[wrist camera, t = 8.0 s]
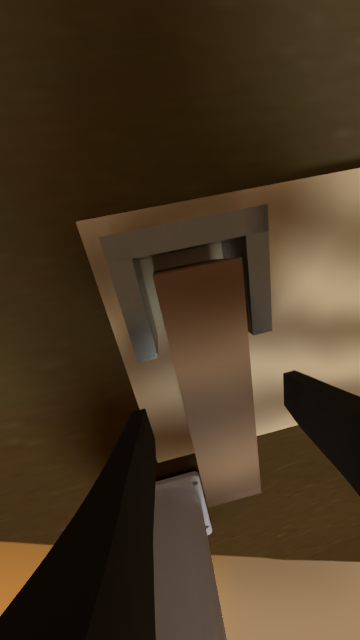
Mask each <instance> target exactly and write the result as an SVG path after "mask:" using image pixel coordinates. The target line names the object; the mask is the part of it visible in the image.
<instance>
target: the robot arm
mask: <svg viewBox="0 0 360 640" xmlns="http://www.w3.org/2000/svg"><path fill="white" fill-rule="evenodd" d="M283 385H284V406H285V407H286V408H287V410H288V411H289V413H290V414H291V416H292V417H293V418H294V420H295V421H296V422H297V424H298V425H299V426H300V427H301V429H302V430H303V431H304V432H305V433H306V434H307V435H308V437H309V438H310V439H311V440H312V441H313V442H314V443H315V444H316V446H317V447H318V448H319V449H320V450H321V451H322V452H323V453H324V455H325V456H326V457H327V458H328V459H329V460H330V461H331V462H332V464H333V465H334V466H335V467H336V468H337V469H338V470H339V471H340V472H341V474H342V475H343V476H344V477H345V478H346V480H347V481H348V482H349V483H350V484H351V486H352V487H353V488H354V489H355V491H356V492H357V493H358V495H359V496H360V396H357V395H354V394H352V393H349V392H347V391H344V390H342V389H339V388H337V387H335V386H332V385H330V384H327V383H325V382H322V381H320V380H318V379H315V378H313V377H310V376H308V375H305V374H303V373H300V372H298V371H295V370H294V371H290V372H286V373H283ZM211 533H212V527H211V523H210V519H209V515H208V511H207V506H206V502H205V498H204V494H203V490H202V486H201V482H200V478H199V474H198V472H196V471H193V472H189V473H185V474H182V475H178V476H175V477H171V478H167V479H164V480H160V481H157V482H156V445H155V437H154V434H153V431H152V428H151V425H150V422H149V418H148V415H147V412H146V409H141V410H137V411H133V412H132V414H131V416H130V418H129V420H128V422H127V424H126V426H125V428H124V430H123V432H122V434H121V436H120V438H119V440H118V442H117V444H116V446H115V448H114V450H113V452H112V454H111V455H110V457H109V459H108V461H107V463H106V464H105V466H104V468H103V470H102V471H101V473H100V475H99V477H98V478H97V480H96V482H95V483H94V485H93V487H92V488H91V490H90V492H89V493H88V495H87V497H86V498H85V500H84V501H83V503H82V504H81V506H80V507H79V509H78V511H77V512H76V514H75V515H74V517H73V518H72V520H71V521H70V523H69V524H68V526H67V527H66V528H65V530H64V531H63V533H62V534H61V536H60V537H59V538H58V540H57V541H56V543H55V544H54V546H53V547H52V549H51V550H50V551H49V553H48V554H47V556H46V557H45V558H44V560H43V561H42V562H41V564H40V565H39V567H38V568H37V569H36V571H35V572H34V573H33V575H32V576H31V577H30V578H29V580H28V581H27V582H26V584H25V585H24V586H23V588H22V589H21V590H20V592H19V593H18V594H17V595H16V597H15V598H14V599H13V601H12V602H11V603H10V605H9V606H8V607H7V609H6V610H5V611H4V612H3V614H2V615H1V616H0V640H227V639H226V634H225V628H224V623H223V618H222V613H221V607H220V602H219V596H218V591H217V586H216V580H215V575H214V569H213V564H212V559H211V553H210V548H209V543H208V537H207V535H209V534H211Z"/></svg>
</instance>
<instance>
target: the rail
mask: <svg viewBox="0 0 360 640" xmlns="http://www.w3.org/2000/svg"><path fill="white" fill-rule="evenodd" d="M153 280H154V284H155V288H156V292H157V297H158V301H159V305H160V309H161V313H162V317H163V322H164V326H165V330H166V334H167V338H168V343H169V347H170V351H171V355H172V359H173V363H174V368H175V372H176V376H177V380H178V384H179V389H180V393H181V397H182V401H183V405H184V409H185V414H186V418H187V422H188V426H189V430H190V435H191V439H192V443H193V447H194V451H195V455H196V460H197V464H198V468H199V472H200V476H201V481H202V485H203V489H204V493H205V497H206V501H207V506H208V508H210V507H213V506H217V505H220V504H224V503H227V502H230V501H234V500H237V499H241V498H244V497H248V496H251V495H255V494H258V493H261V485H260V472H259V460H258V448H257V436H256V424H255V411H254V399H253V387H252V375H251V363H250V350H249V338H248V326H247V314H246V302H245V289H244V277H243V265H242V257H241V258H226V259H212V260H207V261H202V262H197V263H192V264H188V265H183V266H178V267H173V268H169V269H164V270H159V271H154V273H153Z"/></svg>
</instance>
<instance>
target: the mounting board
mask: <svg viewBox="0 0 360 640" xmlns="http://www.w3.org/2000/svg"><path fill="white" fill-rule="evenodd" d="M264 204H268V223H269V252H270V280H271V308H272V331H270V332H266V333H261V334H257V335H252V334H251V333H249V332H248V338H249V350H250V363H251V375H252V387H253V399H254V411H255V424H256V436H259V435H263V434H266V433H270V432H274V431H277V430H281V429H285V428H288V427H292V426H296V425H298V424H297V422H296V421H295V420H294V418H293V417H292V416H291V414H290V413H289V411H288V410H287V408H286V407H285V406H284V385H283V373H286V372H290V371H294V370H295V371H298V372H300V373H303V374H305V375H308V376H310V377H313V378H315V379H318V380H320V381H322V382H325V383H327V384H330V385H332V386H335V387H337V388H339V389H342V390H344V391H347V392H349V393H352V394H354V395H357V396H360V168H356V169H351V170H345V171H340V172H335V173H330V174H324V175H319V176H314V177H309V178H303V179H298V180H293V181H287V182H282V183H277V184H272V185H266V186H261V187H256V188H250V189H245V190H240V191H235V192H229V193H224V194H219V195H214V196H208V197H203V198H198V199H192V200H187V201H182V202H177V203H171V204H166V205H161V206H156V207H150V208H145V209H140V210H134V211H129V212H124V213H119V214H113V215H108V216H103V217H98V218H92V219H87V220H82V221H76V224H77V227H78V230H79V233H80V236H81V239H82V242H83V245H84V248H85V251H86V254H87V257H88V260H89V262H90V265H91V268H92V271H93V274H94V277H95V280H96V283H97V286H98V289H99V292H100V295H101V298H102V301H103V304H104V306H105V309H106V312H107V315H108V318H109V321H110V324H111V327H112V330H113V333H114V336H115V339H116V342H117V345H118V348H119V350H120V353H121V356H122V359H123V362H124V365H125V368H126V371H127V374H128V377H129V380H130V383H131V386H132V389H133V392H134V395H135V397H136V400H137V403H138V406H139V409H140V410H141V409H146V412H147V415H148V418H149V422H150V425H151V428H152V431H153V434H154V437H155V445H156V459H157V462H158V463H160V462H163V461H167V460H171V459H174V458H178V457H182V456H185V455H189V454H193V453H195V451H194V447H193V443H192V439H191V435H190V430H189V426H188V422H187V418H186V414H185V409H184V405H183V401H182V397H181V393H180V389H179V384H178V380H177V376H176V372H175V368H174V363H173V359H172V355H171V351H170V347H169V343H168V338H167V334H166V330H165V326H164V322H163V317H162V313H161V309H160V305H159V301H158V297H157V292H156V288H155V284H154V280H153V273H154V271H159V270H164V269H169V268H173V267H178V266H183V265H188V264H192V263H197V262H202V261H207V260H212V259H223V252H222V243H220V244H215V245H210V246H205V247H200V248H195V249H191V250H186V251H181V252H176V253H171V254H166V255H161V256H156V257H152V258H147V259H142V260H139V263H140V267H141V271H142V275H143V279H144V283H145V287H146V291H147V294H148V298H149V302H150V306H151V310H152V314H153V318H154V322H155V326H156V330H157V333H158V358H156V359H152V360H148V361H144V362H140V363H138V362H137V359H136V356H135V353H134V349H133V346H132V343H131V340H130V337H129V333H128V330H127V327H126V324H125V321H124V317H123V314H122V311H121V308H120V305H119V301H118V298H117V295H116V292H115V289H114V285H113V282H112V279H111V276H110V272H109V269H108V266H107V263H106V260H105V256H104V253H103V250H102V247H101V244H100V240H99V237H101V236H106V235H111V234H116V233H121V232H126V231H131V230H137V229H142V228H147V227H152V226H157V225H162V224H167V223H172V222H177V221H183V220H188V219H193V218H198V217H203V216H208V215H213V214H218V213H223V212H228V211H234V210H239V209H244V208H249V207H254V206H259V205H264Z"/></svg>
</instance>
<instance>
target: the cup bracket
mask: <svg viewBox="0 0 360 640" xmlns="http://www.w3.org/2000/svg"><path fill="white" fill-rule="evenodd" d="M99 240H100V244H101V247H102V250H103V253H104V256H105V260H106V263H107V266H108V269H109V272H110V276H111V279H112V282H113V285H114V289H115V292H116V295H117V298H118V301H119V305H120V308H121V311H122V314H123V317H124V321H125V324H126V327H127V330H128V333H129V337H130V340H131V343H132V346H133V349H134V353H135V356H136V359H137V362H138V363H140V362H144V361H148V360H152V359H156V358H158V333H157V330H156V326H155V322H154V318H153V314H152V310H151V306H150V302H149V298H148V294H147V291H146V287H145V283H144V279H143V275H142V271H141V267H140V263H139V260H142V259H147V258H152V257H156V256H161V255H166V254H171V253H176V252H181V251H186V250H191V249H195V248H200V247H205V246H210V245H215V244H220V243H222V252H223V259H226V258H241V257H242V265H243V277H244V289H245V302H246V314H247V326H248V332H249V333H251V334H252V335H257V334H261V333H266V332H270V331H272V308H271V280H270V252H269V223H268V204H264V205H259V206H254V207H249V208H244V209H239V210H234V211H228V212H223V213H218V214H213V215H208V216H203V217H198V218H193V219H188V220H183V221H177V222H172V223H167V224H162V225H157V226H152V227H147V228H142V229H137V230H131V231H126V232H121V233H116V234H111V235H106V236H101V237H99Z"/></svg>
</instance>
